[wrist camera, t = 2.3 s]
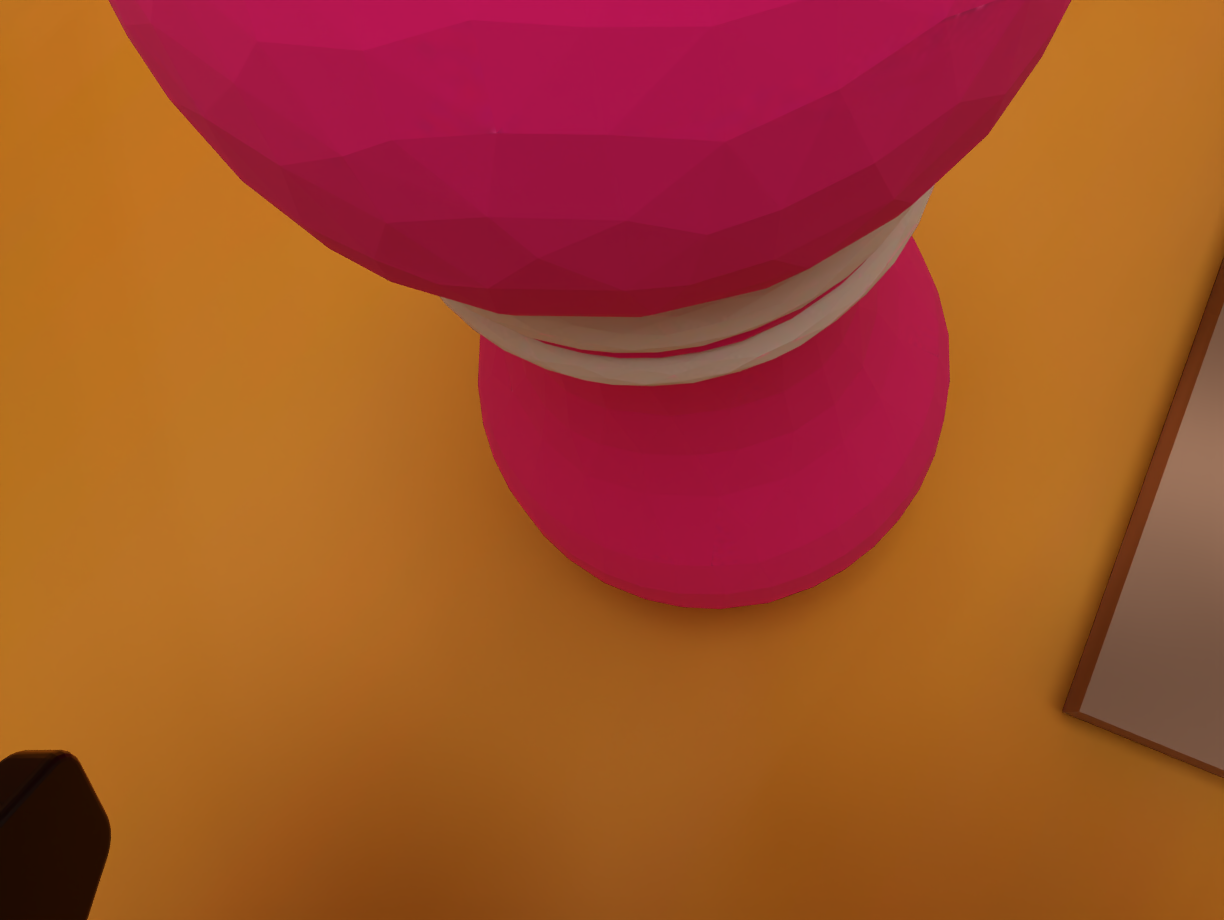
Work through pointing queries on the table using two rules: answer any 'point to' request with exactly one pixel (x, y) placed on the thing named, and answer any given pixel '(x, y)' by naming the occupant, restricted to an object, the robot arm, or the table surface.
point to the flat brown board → (1170, 582)
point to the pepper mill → (640, 239)
